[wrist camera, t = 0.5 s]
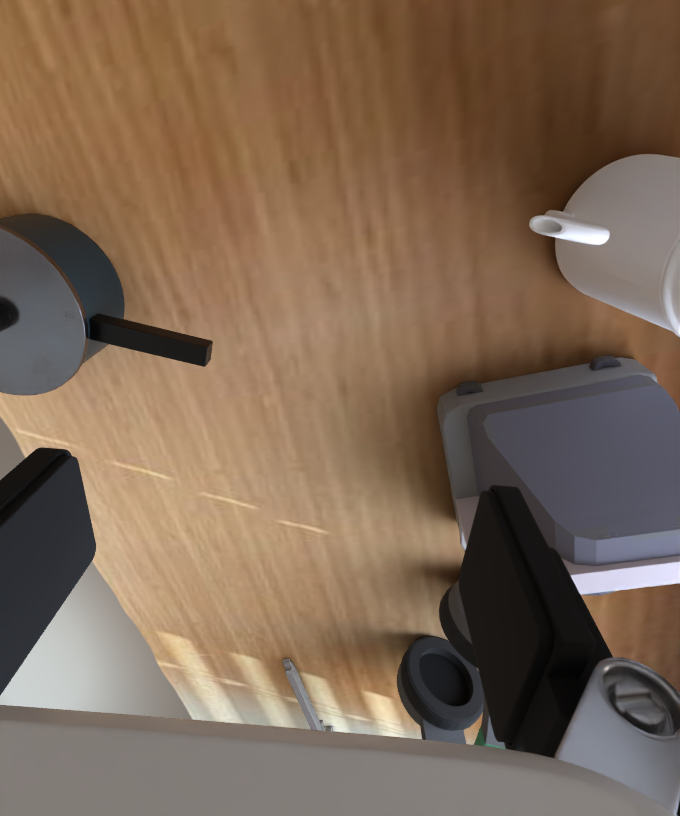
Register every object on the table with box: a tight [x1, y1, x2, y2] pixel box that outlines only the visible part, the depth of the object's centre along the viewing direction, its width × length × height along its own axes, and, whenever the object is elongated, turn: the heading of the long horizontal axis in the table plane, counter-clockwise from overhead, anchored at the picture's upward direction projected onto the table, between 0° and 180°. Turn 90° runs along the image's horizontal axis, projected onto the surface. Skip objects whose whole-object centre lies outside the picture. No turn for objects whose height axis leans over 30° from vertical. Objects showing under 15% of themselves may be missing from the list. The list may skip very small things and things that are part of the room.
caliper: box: [282, 658, 333, 732], centre depth 69 cm, size 20×1×6 cm, turn 20°
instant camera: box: [437, 355, 680, 595], centre depth 42 cm, size 21×21×15 cm
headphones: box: [397, 580, 506, 749], centre depth 53 cm, size 19×11×20 cm, turn 161°
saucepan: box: [0, 214, 213, 395], centre depth 39 cm, size 14×23×9 cm, turn 76°
